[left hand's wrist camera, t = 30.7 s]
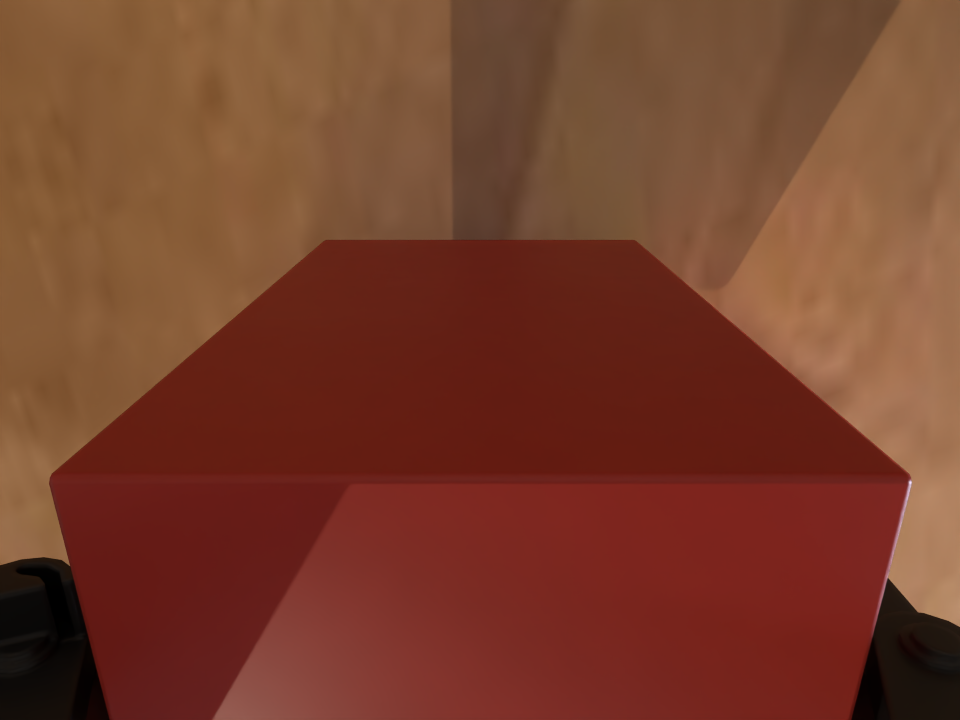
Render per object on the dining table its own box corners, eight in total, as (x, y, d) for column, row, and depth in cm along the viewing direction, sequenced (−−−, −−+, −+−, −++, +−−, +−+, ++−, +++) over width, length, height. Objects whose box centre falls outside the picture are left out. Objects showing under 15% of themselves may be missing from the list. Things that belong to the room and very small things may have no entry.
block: (323, 239, 16) (41, 477, 6) (636, 239, 16) (919, 476, 6) (346, 526, 18) (186, 1032, 8) (613, 526, 18) (774, 1032, 8)
